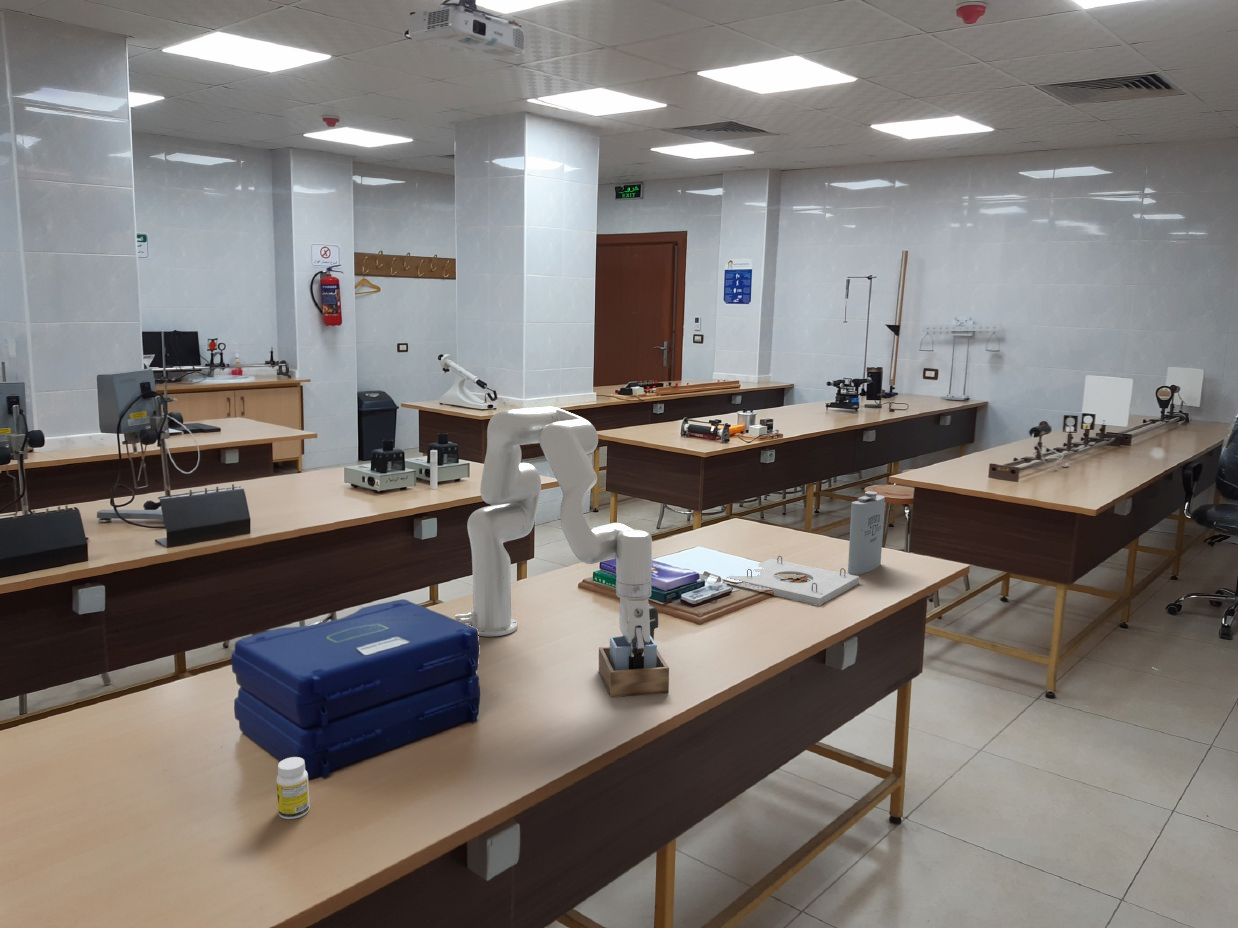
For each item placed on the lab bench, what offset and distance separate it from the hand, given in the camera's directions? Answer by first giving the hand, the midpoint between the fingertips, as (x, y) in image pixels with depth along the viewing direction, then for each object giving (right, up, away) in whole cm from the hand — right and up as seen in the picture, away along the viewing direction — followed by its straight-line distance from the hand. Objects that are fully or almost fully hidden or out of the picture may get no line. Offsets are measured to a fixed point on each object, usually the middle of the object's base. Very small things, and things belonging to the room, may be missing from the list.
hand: (632, 666), depth 188 cm
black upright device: (+3, -1, +16) cm, 17 cm away
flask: (+76, +11, +88) cm, 116 cm away
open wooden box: (0, -3, +1) cm, 3 cm away
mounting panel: (+49, +7, +71) cm, 87 cm away
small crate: (0, -1, 0) cm, 1 cm away
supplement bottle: (-55, -12, -50) cm, 75 cm away
